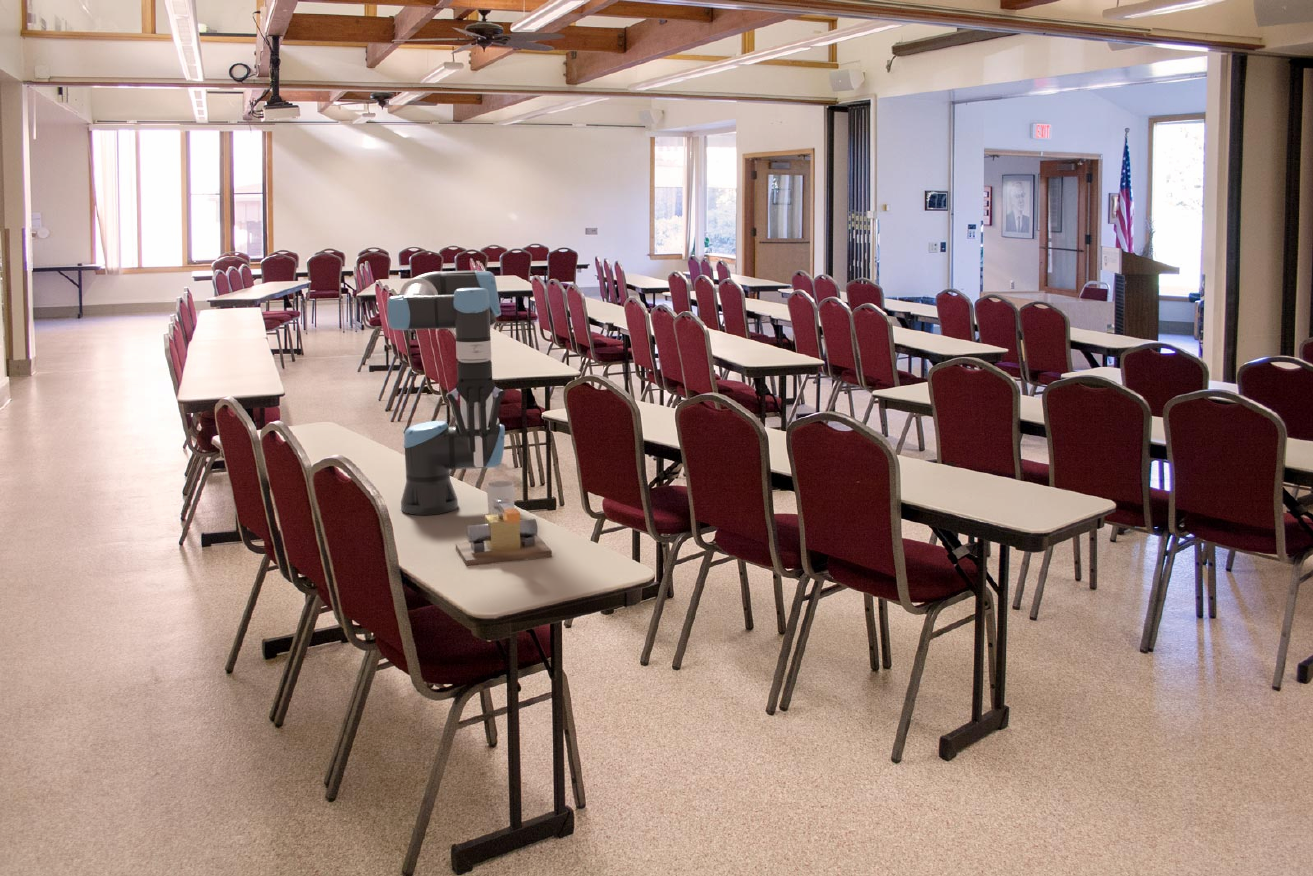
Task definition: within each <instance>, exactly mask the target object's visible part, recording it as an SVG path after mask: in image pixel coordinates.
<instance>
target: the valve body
mask: <svg viewBox="0 0 1313 876" xmlns="http://www.w3.org/2000/svg"><path fill="white" fill-rule="evenodd" d="M537 522H538V521H537V520H536V518H528V519H520V522H517V523H508V524H507V523H506V521H505V520H504V519H503V513H502V512H501V511H500V510H498V514H493V515H489V514H485V515H484V523H480V524H479V523H478V524H471V525H470V524H469V525H467V526H466V536H467V537H466V538H467V542H469V543H471V549H472V550H473V552H474V553H479V552H485V547H484V542H483V541H486V545H487V547H488V548H489V550H490V551H491V552H492V553H493V552H501V551H510V550H519V549H520V537H521V543H522V544H523V545H524V547H532V546H535V537H534V536H536V535H538V523H537Z"/></svg>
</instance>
